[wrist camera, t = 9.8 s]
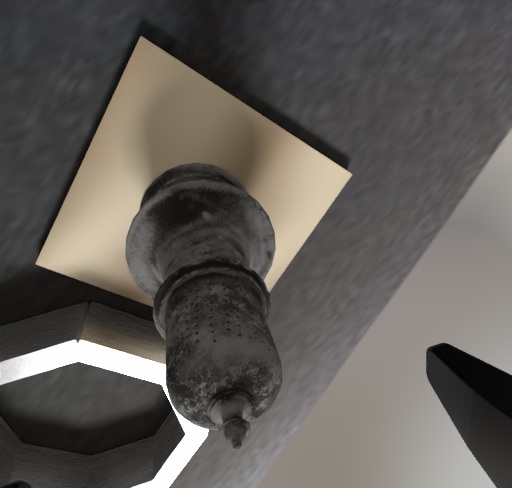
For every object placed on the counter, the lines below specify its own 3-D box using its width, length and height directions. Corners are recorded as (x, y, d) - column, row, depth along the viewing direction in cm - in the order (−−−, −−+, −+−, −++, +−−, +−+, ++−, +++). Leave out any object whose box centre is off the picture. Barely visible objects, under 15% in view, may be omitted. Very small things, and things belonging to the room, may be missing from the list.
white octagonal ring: (-62, 442, 22) (-93, 496, 19) (13, 273, 18) (-13, 311, 16) (143, 477, 27) (140, 524, 24) (234, 349, 23) (242, 388, 21)
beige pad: (39, 257, 18) (35, 264, 18) (141, 36, 15) (140, 35, 14) (235, 330, 22) (237, 337, 22) (347, 170, 19) (352, 174, 19)
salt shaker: (219, 287, 20) (274, 545, 10) (110, 241, 18) (29, 516, 7) (280, 194, 18) (427, 384, 8) (170, 130, 16) (173, 281, 6)
